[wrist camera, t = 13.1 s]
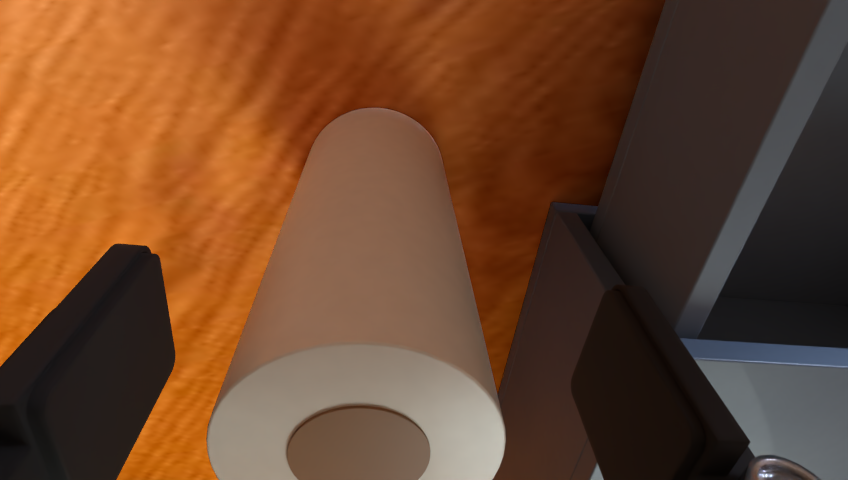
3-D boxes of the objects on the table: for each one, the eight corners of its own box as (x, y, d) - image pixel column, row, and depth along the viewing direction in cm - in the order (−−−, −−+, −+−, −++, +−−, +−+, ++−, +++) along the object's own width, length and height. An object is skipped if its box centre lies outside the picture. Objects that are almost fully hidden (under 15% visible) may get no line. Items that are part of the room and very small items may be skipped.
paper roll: (284, 133, 18) (141, 398, 8) (419, 87, 18) (462, 304, 7) (339, 248, 21) (287, 564, 10) (458, 210, 20) (533, 505, 10)
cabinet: (550, 201, 20) (645, 355, 13) (884, 231, 22) (1142, 384, 14) (476, 472, 28) (506, 661, 21) (721, 479, 30) (831, 657, 22)
